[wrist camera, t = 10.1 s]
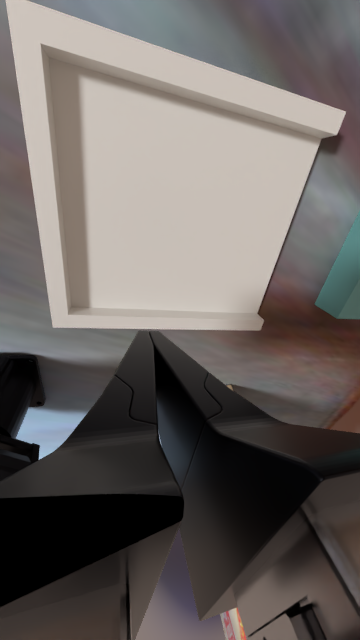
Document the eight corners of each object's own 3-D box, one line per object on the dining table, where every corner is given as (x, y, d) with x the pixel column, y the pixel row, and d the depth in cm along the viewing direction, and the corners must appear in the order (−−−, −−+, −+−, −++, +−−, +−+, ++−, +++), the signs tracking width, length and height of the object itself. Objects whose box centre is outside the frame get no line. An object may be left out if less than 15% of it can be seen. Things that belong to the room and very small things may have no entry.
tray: (250, 320, 24) (260, 330, 23) (58, 315, 20) (52, 327, 18) (323, 119, 16) (346, 111, 15) (22, 20, 11) (4, -8, 10)
